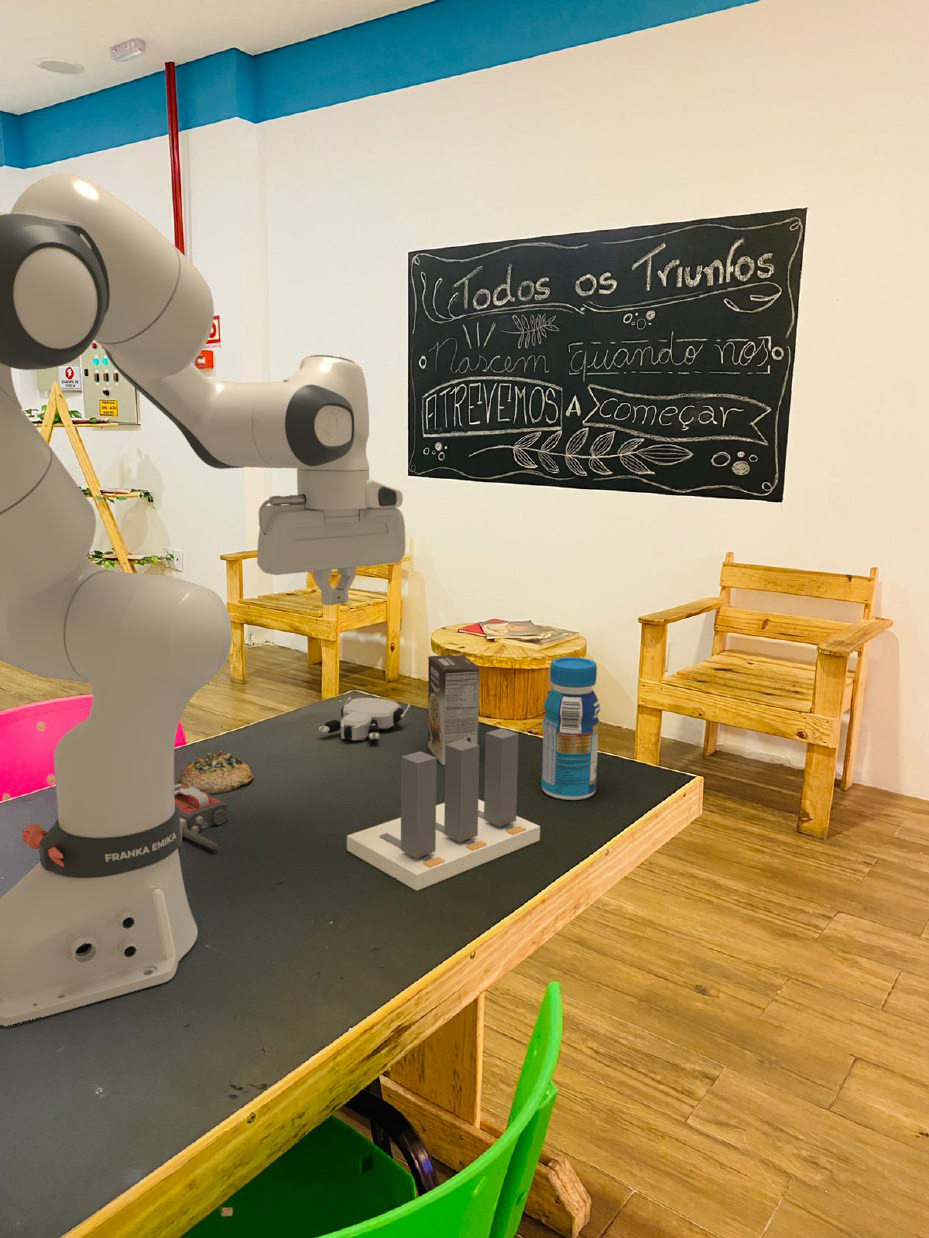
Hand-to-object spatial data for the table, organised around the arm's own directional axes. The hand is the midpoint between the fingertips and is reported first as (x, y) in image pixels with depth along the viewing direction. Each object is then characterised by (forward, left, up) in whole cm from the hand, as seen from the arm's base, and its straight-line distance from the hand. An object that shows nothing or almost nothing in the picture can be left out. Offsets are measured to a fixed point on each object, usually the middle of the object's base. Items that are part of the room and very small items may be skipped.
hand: (334, 603), depth 116 cm
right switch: (+15, -15, -29) cm, 36 cm away
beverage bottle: (+35, -10, -31) cm, 48 cm away
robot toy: (+28, +32, -32) cm, 53 cm away
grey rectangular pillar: (+9, -15, -29) cm, 33 cm away
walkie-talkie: (-13, +15, -32) cm, 38 cm away
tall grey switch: (+2, -15, -29) cm, 32 cm away
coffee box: (+32, +13, -31) cm, 47 cm away
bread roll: (-3, +27, -32) cm, 42 cm away
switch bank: (+9, -12, -31) cm, 34 cm away
